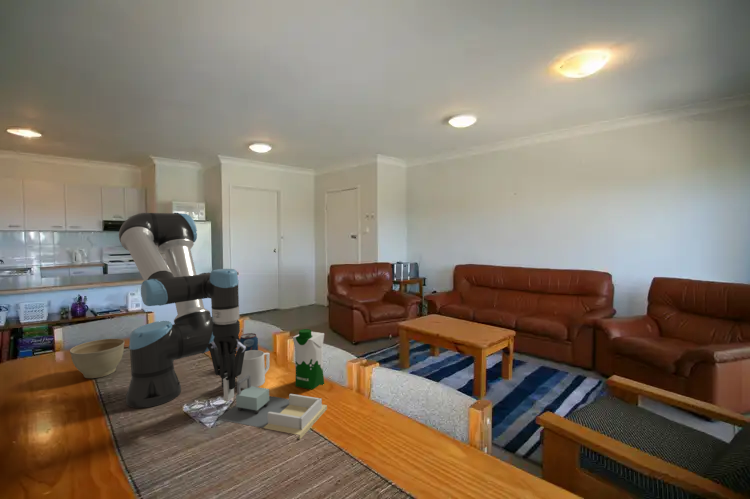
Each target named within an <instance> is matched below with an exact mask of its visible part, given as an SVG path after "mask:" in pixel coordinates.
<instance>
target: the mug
mask: <svg viewBox="0 0 750 499" xmlns="http://www.w3.org/2000/svg"><path fill="white" fill-rule="evenodd" d="M265 357H266V358H265ZM265 360H266V364H265ZM269 369H270V352H264V351H262V350H259V349H258V350H250V351H245V354H244V360H243V365H242V371H241V374H240V375H239V376H237V377H236V380H237V382H238V381H239V380H241V379H243V378H244V377H246V376H247V375H250V376H251V386H253V387H259V388H260V387H261V386H263V385H264V384H265V382H266V374H267V372H268V371H269ZM245 388H247V380H246V381H244V382H242V383H241V389H242V390H244V389H245Z"/></svg>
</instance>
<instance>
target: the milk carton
mask: <svg viewBox="0 0 750 499" xmlns="http://www.w3.org/2000/svg"><path fill="white" fill-rule="evenodd" d="M324 340H325V333H324V332H317V331H312V330H311V329H310V328H303V329H300V330H299V331H298V334H296V335H294V336H293V337H292V341H293V346H294V357H295V358H294V363H295V366H294V367H295V382H294V383H295V386H294V387H297V388H301V389H307V390H311V391H312V390H314V389H316V388H317V387H319V386H324V385H325V377H324V363H323V362H324V357H323V356H324V353H323V351H324V350H323V349H324V348H323V346H324V345H323V344H324ZM323 384H324V385H323Z"/></svg>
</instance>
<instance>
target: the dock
mask: <svg viewBox="0 0 750 499" xmlns="http://www.w3.org/2000/svg"><path fill="white" fill-rule="evenodd" d="M322 399H323V398H322V397H321V398H320V397H314V396H307V395H301V394H294V393H289V395H288V398H285V397H278V396H270V395H269V401H268V406H264V405H263V406H262V407H261V408H260V409H259V413H258V414H255V413H254V410H251V409H246V408H243V409H242V410H241V411H239V410H238V407H236V405H235V406H233V407H232V408H231V409H229V410H228V411H226V412H225V413H223V414H222V415H221V416H220V417H218V418H217V420H219V421H225V422H229V423H235V424H241V425H245V426H250V427H251V426H252V427H256V428H261V429H266V430H271V431H277V432H282V433H288V434H292V435H298V437H297V438H296V440H301V439H302V438H303V437H304V436H305V434H307V432H308V431H309V430H310V429H311V428H312V427H313V426H314V424H315V423H316V422H317V421H318V420H319V418H320V417H322V416H323V414H324V413H325V412H327V410H328V405H327V404H323V403H322V402H323V401H322Z"/></svg>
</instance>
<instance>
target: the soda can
mask: <svg viewBox="0 0 750 499" xmlns="http://www.w3.org/2000/svg"><path fill="white" fill-rule="evenodd" d="M239 338H240V343H242V344H243V345H247V349H246V351H250V350H259V338H258V337H257V334H256V333H253V332H251V333H244V334H242V335H240V337H239Z"/></svg>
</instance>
